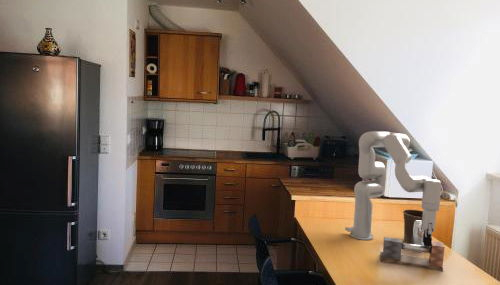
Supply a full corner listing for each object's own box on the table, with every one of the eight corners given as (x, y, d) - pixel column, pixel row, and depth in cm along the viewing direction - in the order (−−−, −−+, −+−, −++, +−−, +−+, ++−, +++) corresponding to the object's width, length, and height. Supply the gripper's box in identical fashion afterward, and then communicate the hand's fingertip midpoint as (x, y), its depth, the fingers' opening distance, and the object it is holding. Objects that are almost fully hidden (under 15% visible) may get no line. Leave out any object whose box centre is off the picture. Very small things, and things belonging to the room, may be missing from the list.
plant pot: (432, 240, 227) (435, 212, 226) (432, 249, 213) (434, 219, 211) (401, 235, 234) (404, 207, 232) (399, 243, 219) (401, 214, 218)
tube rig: (380, 261, 192) (382, 239, 191) (380, 254, 201) (382, 233, 200) (442, 271, 184) (445, 248, 183) (439, 263, 193) (441, 241, 192)
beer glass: (425, 249, 212) (427, 221, 211) (426, 253, 206) (429, 225, 204) (411, 247, 214) (413, 219, 213) (411, 251, 208) (414, 223, 206)
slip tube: (394, 249, 193) (396, 230, 192) (394, 247, 196) (395, 228, 195) (438, 255, 187) (439, 236, 186) (437, 253, 190) (438, 234, 189)
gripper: (419, 201, 197) (416, 237, 199) (423, 209, 181) (419, 248, 183) (436, 202, 194) (433, 239, 196) (441, 211, 179) (438, 251, 181)
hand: (426, 243), depth 190 cm, fingers open, 3 cm apart
